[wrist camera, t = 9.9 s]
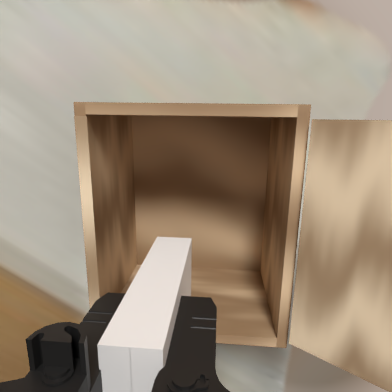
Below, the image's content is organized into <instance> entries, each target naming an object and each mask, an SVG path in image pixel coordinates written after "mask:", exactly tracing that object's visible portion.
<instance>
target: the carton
mask: <svg viewBox="0 0 392 392" xmlns="http://www.w3.org/2000/svg"><path fill="white" fill-rule="evenodd" d="M310 110H311V105H300V104H202V103H104V102H74V113H75V116H87V128H88V142H89V156H90V170H91V184H92V198H93V212H94V226H95V240H96V254H97V268H98V282H99V296H100V298H101V297H102V296H103V295H105V294H106V293H108V292H110V293H126V292H127V290H128V289H129V287H130V285H131V283H132V281H133V280H134V278H135V276H136V274H137V272H138V271H139V269H140V267H141V265H142V263H143V261H144V260H145V258H146V256H147V254H148V252H149V251H150V249H151V247H152V245H153V243H154V242H155V240H156V238H157V237H176V238H192V256H191V296H194V297H210V298H212V300H213V302H214V303H215V305H216V307H217V321H216V343H224V344H238V345H252V346H266V347H280V348H286V347H287V337H288V327H289V317H290V307H291V297H292V288H293V278H294V268H295V258H296V248H297V238H298V228H299V219H300V209H301V199H302V189H303V179H304V169H305V159H306V150H307V140H308V130H309V120H310Z"/></svg>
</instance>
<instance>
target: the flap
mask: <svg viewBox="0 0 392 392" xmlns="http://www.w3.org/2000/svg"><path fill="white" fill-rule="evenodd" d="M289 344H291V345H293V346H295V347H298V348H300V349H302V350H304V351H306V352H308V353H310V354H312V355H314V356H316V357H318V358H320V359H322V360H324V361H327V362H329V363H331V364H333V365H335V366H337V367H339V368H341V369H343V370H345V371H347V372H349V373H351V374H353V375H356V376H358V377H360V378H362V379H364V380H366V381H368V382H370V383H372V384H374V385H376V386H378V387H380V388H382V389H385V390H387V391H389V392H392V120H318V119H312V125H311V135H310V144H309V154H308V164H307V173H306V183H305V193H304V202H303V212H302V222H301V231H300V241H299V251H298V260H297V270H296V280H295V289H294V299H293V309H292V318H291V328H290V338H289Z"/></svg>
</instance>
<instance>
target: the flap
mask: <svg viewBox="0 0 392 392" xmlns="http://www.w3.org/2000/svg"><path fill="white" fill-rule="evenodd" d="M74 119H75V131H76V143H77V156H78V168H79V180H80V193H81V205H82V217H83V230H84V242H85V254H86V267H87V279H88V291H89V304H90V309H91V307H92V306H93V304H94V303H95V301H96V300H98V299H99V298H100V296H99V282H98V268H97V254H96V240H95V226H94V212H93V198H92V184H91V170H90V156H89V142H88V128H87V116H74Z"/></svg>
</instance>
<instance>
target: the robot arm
mask: <svg viewBox="0 0 392 392" xmlns="http://www.w3.org/2000/svg"><path fill="white" fill-rule="evenodd" d="M191 256H192V238H176V237H157V238H156V240H155V242H154V243H153V245H152V247H151V249H150V251H149V252H148V254H147V256H146V258H145V260H144V261H143V263H142V265H141V267H140V269H139V271H138V272H137V274H136V276H135V278H134V280H133V281H132V283H131V285H130V287H129V289H128V290H127V292H126V293H110V292H108V293H106V294H105V295H103V296H102V297H101V298H99V299H98V300H96V301H95V303H94V304H93V306H92V307H91V309H90V310H89V313H87V314H86V316H85V317H84V319H83V322H81V323H80V324H76V323H71V322H62V323H55V324H52V325H48V326H45V327H43V328H41V329H39V330H37V331H35V332H34V333H33V334H32V335H30V336H29V337H28V338H27V339H26V343H27V351H28V358H29V365H30V372H29V373H28V374H27V375H26V377H25V378H21V379H17V380H12V381H7V382H1V383H0V392H230V391H228V390H227V389H226V388H225V387H224V386H223V385H222V384H221V382H220V381H219V379H218V377H217V375H216V370H215V354H216V321H217V307H216V305H215V303H214V302H213V300H212V298H210V297H194V296H191Z"/></svg>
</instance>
